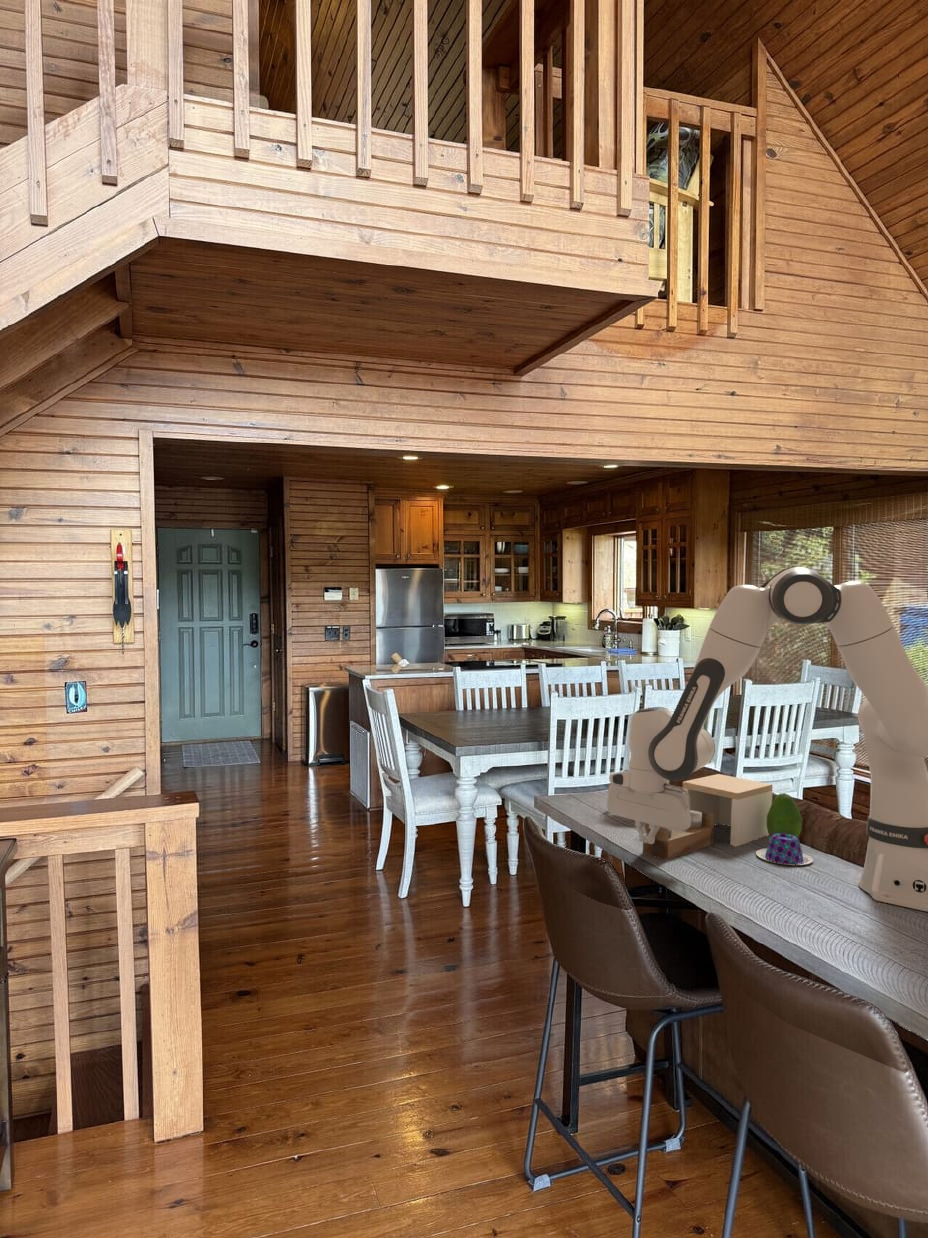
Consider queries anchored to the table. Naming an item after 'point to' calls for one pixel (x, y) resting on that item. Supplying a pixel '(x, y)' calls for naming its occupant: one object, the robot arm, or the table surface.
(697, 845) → the tray
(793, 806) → the avocado
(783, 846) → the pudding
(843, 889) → the table surface
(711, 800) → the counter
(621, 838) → the table surface
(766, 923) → the table surface
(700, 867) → the table surface
